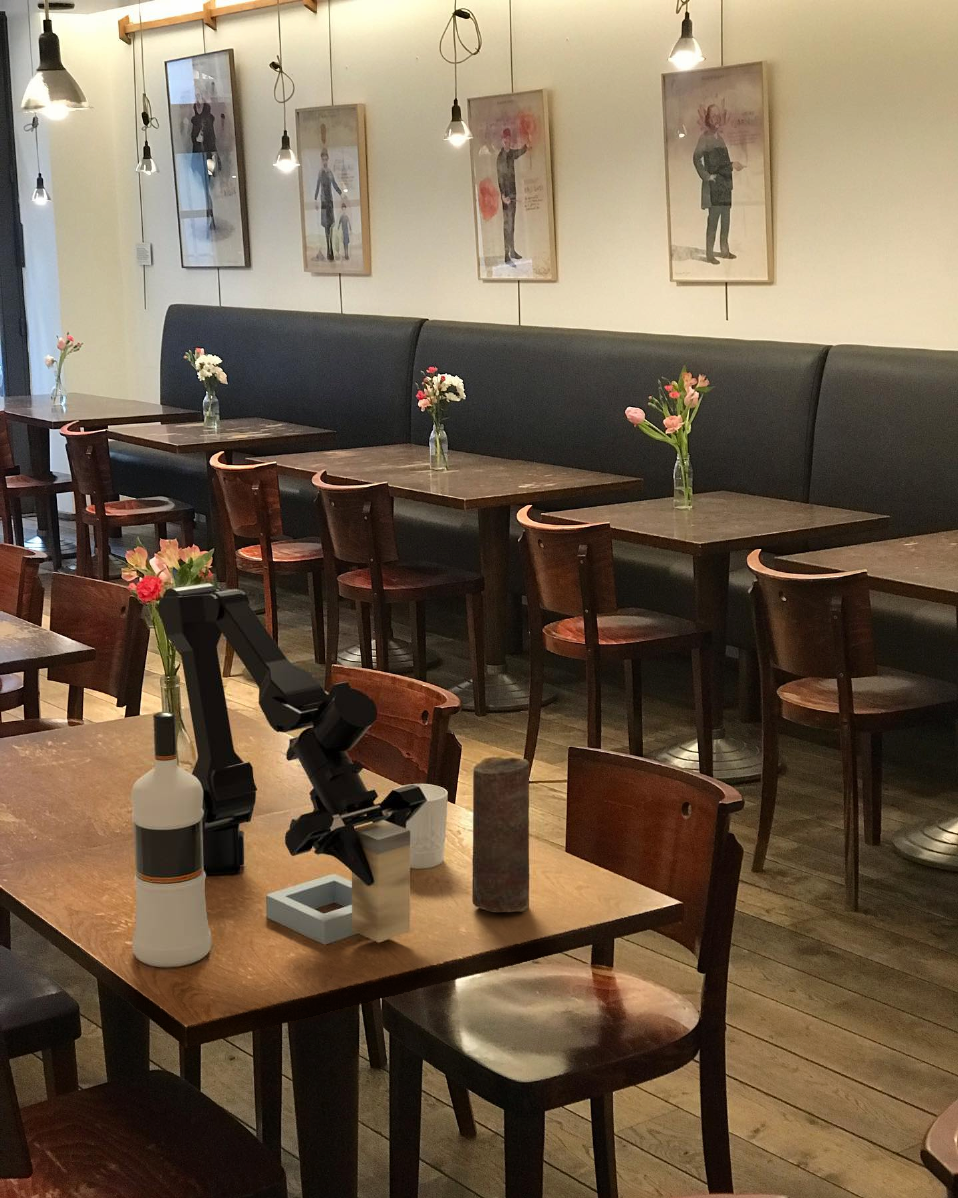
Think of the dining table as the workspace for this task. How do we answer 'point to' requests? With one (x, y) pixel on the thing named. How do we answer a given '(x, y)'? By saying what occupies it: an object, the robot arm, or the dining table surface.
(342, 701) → the robot arm
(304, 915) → the frame
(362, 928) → the wooden square peg
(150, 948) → the vodka
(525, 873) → the brown textured cylinder
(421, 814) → the white cup
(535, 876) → the dining table surface
